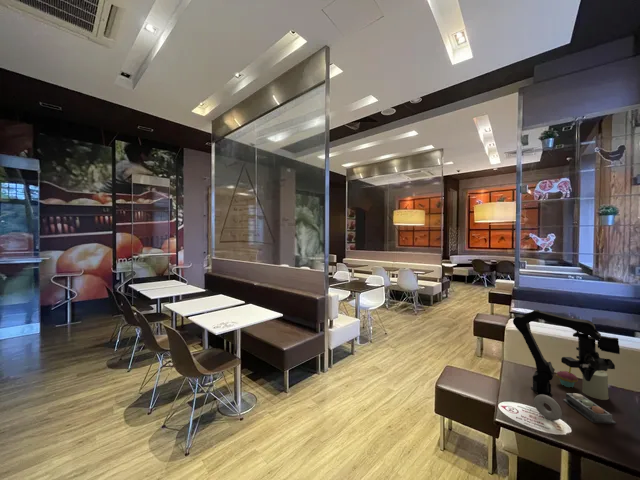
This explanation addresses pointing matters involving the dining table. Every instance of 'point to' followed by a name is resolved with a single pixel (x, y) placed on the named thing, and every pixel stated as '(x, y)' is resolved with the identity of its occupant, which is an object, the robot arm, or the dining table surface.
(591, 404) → the green rounded piece
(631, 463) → the dining table surface
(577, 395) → the white egg
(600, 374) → the can
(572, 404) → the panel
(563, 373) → the cupcake
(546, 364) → the robot arm
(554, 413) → the donut
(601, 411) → the brown egg
